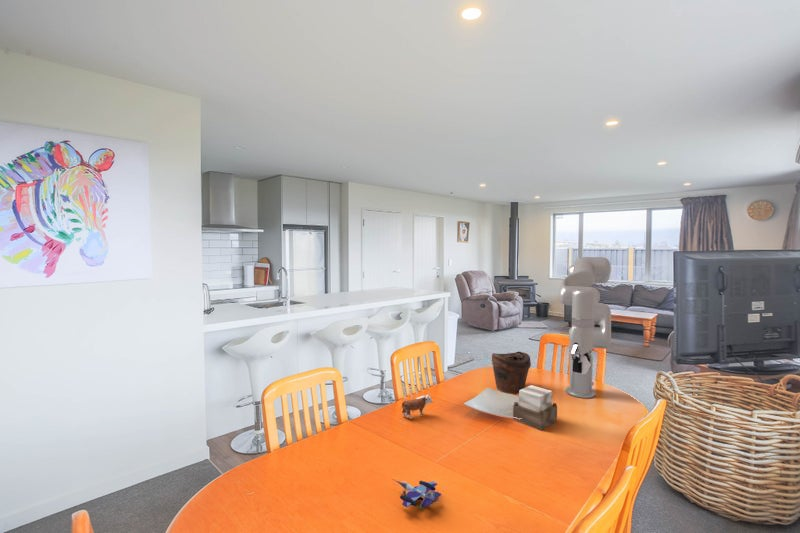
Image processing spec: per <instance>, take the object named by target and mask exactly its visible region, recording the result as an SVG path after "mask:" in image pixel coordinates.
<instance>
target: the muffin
mask: <svg viewBox="0 0 800 533" xmlns="http://www.w3.org/2000/svg"><path fill="white" fill-rule="evenodd" d="M578 358H579V355H578ZM581 362H582V373H579V374H586V373H587V371H588V370H589V368H590V366H591V364H590V362H589V361H588V360H587V357H586V356H585V355H582V359H581Z"/></svg>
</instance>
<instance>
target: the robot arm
mask: <svg viewBox="0 0 800 533" xmlns="http://www.w3.org/2000/svg"><path fill="white" fill-rule="evenodd" d="M611 266H612V265H611V262H610V260H609V259H608V258H607V257H605V256H604V257H603V256H581V257H579V258H578V257H577V259H576V260H575V261H574V262H573V265H570V266H569V267H568V269H567V276H566V277H564V278H563V279H562V281H561V283H560V288H559V297H558V298H559V301H560V303H561V304H563V305H565V306H571V327H570V328H569V330H568V341H569V345H568V346H569V347H568V348H569V349H568V350H569V351H568V352H569V386H567V387H565V392H566V393H567V394H568V395H570V396H572V397H576V398H581V399H590V398H594V397H596V391H595V390H594V389H593V386H594V385H595V382H594V381H593V367H594V365H593V362H594V358H593V355H592V350H593V349H603V350H604V349H606V350H607V349H610V347H611V344H612V312H611V308H610V306H609V305H608V304H605V303H600V301H601V300H600V299H601V294H600V291H599V289H597V288H596V287H592V285H594V284H606V283H608V282H609V280H610V276H611V272H612V267H611ZM595 325H598V326H597V327H596V326H595ZM578 355H579V358H578ZM582 355H585V356H586V357H587V360H588V361H589V362H590V364H591V366H590V368H589V370H588V371H587V373H586V374H579V373H582V362H581V359H582Z"/></svg>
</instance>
